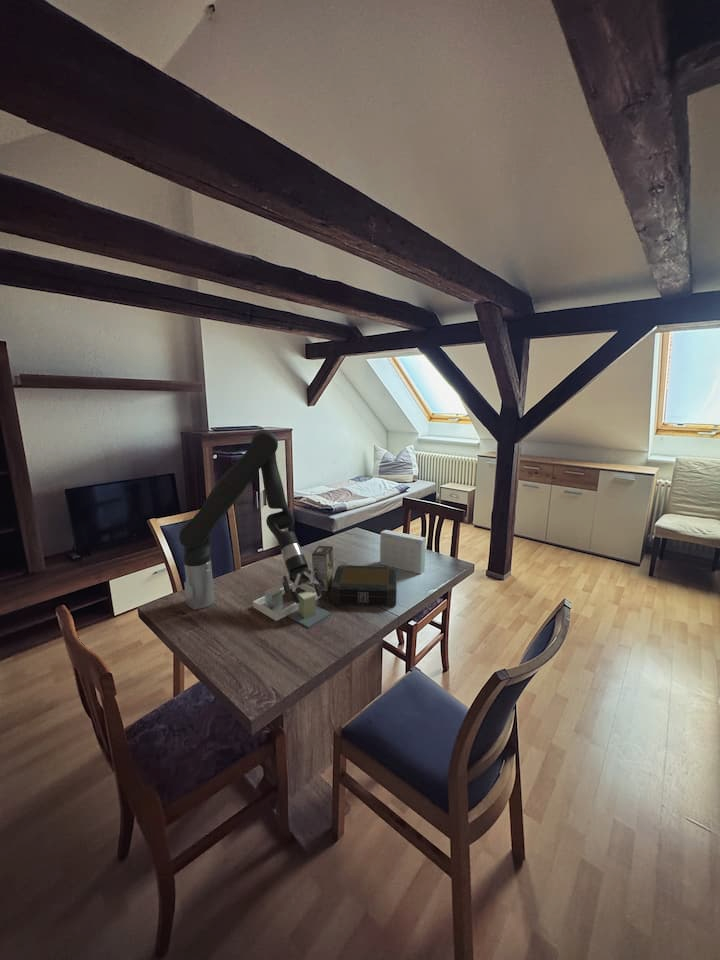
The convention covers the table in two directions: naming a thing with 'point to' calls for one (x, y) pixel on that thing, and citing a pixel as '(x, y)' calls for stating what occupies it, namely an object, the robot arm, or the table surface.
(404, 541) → the skincare box
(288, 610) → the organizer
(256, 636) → the table surface
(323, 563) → the coffee box
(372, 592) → the cash box
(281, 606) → the grey tin
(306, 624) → the charcoal mat
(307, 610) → the olive tin
